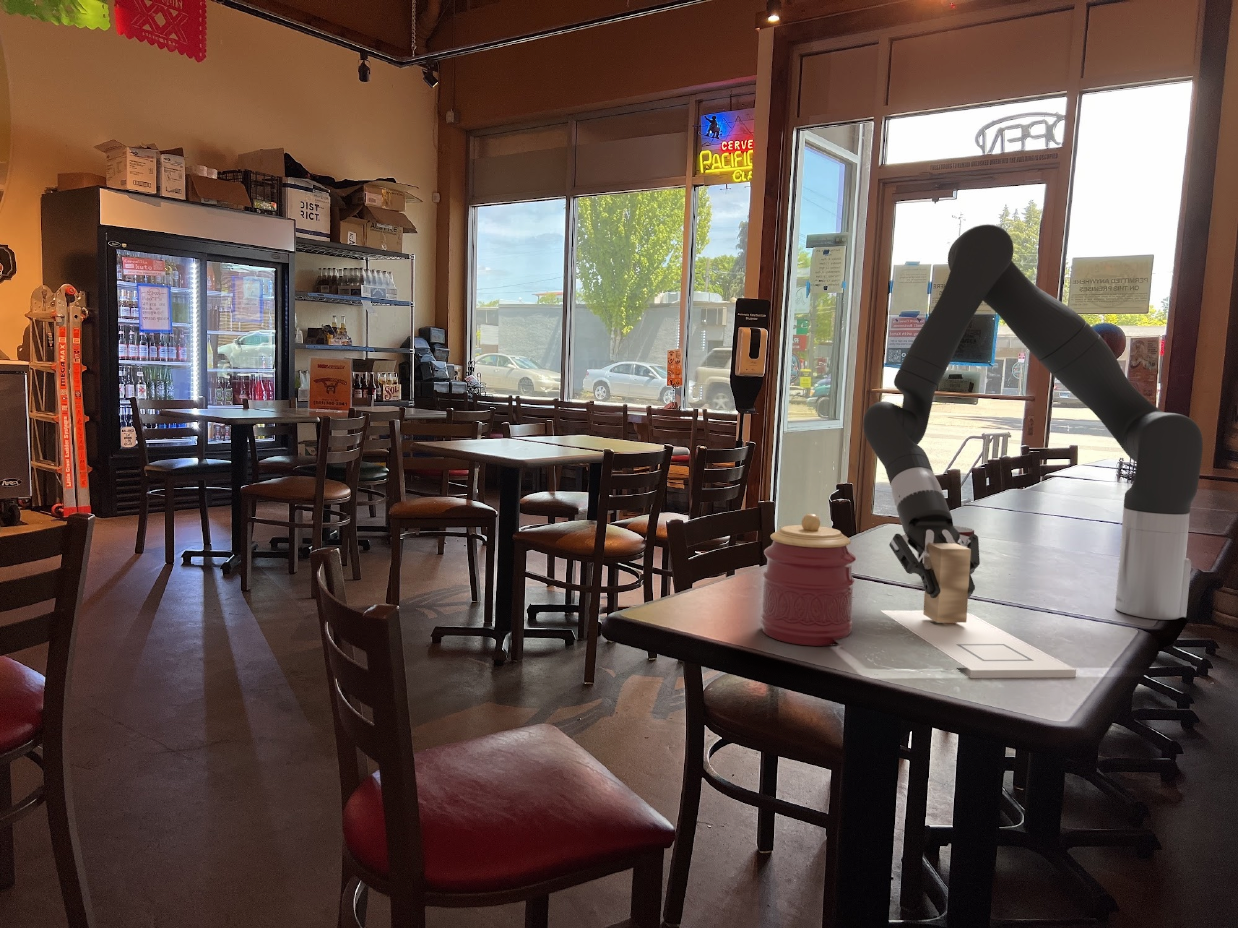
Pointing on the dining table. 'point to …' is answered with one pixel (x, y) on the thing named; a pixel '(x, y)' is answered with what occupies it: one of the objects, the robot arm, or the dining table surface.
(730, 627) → the dining table surface
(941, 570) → the oak block
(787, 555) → the canister
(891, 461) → the robot arm
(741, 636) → the dining table surface
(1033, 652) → the board
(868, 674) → the dining table surface
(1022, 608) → the dining table surface
